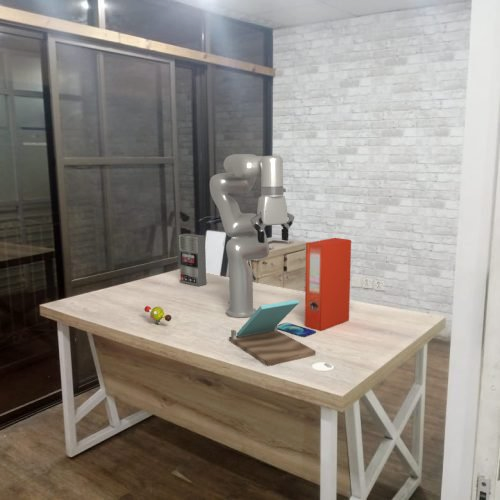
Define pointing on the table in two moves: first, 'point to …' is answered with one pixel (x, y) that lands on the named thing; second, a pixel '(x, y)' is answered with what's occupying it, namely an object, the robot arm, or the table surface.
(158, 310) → the molecule model
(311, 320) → the file binder
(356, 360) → the table surface
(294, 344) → the press base
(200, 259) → the cassette tape recorder
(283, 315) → the plate
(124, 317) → the table surface
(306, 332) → the smartphone
